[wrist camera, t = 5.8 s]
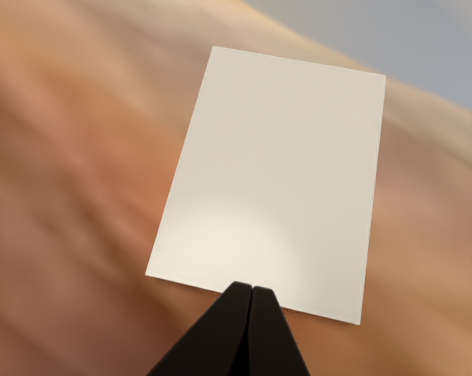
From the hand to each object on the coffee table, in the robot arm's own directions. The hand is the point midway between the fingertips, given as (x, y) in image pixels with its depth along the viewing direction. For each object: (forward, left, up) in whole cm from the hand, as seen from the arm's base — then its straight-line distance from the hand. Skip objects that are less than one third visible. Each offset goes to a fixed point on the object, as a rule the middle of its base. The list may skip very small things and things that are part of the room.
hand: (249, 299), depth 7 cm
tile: (0, 0, -8) cm, 8 cm away
